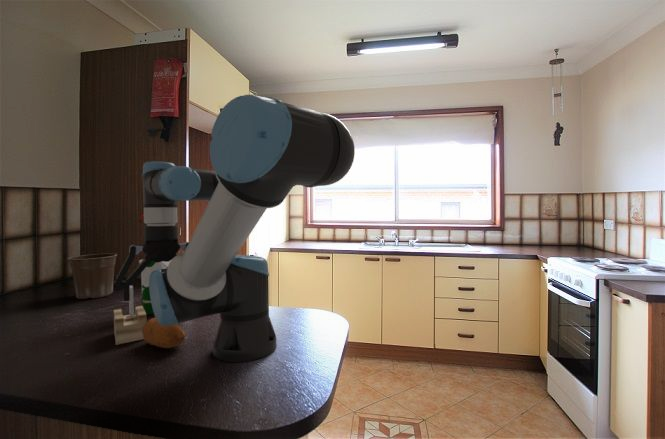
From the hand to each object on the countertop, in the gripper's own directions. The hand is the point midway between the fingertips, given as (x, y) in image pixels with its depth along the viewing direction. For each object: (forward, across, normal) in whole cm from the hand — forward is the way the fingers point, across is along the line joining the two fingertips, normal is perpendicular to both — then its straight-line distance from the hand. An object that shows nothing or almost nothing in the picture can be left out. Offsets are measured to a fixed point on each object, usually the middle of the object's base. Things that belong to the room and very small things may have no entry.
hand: (162, 308), depth 84 cm
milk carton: (+10, -3, -33) cm, 34 cm away
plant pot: (+10, +15, -72) cm, 74 cm away
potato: (+10, 0, 0) cm, 10 cm away
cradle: (+10, +6, -13) cm, 17 cm away
